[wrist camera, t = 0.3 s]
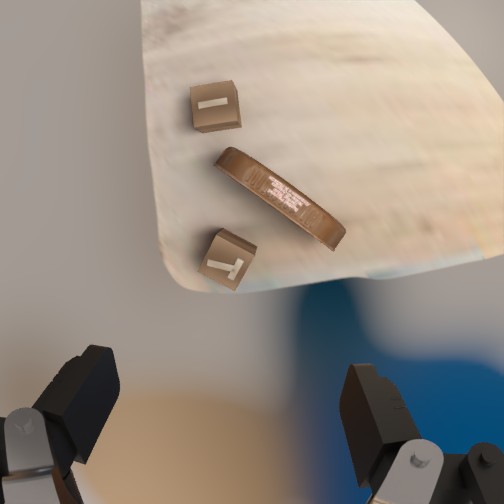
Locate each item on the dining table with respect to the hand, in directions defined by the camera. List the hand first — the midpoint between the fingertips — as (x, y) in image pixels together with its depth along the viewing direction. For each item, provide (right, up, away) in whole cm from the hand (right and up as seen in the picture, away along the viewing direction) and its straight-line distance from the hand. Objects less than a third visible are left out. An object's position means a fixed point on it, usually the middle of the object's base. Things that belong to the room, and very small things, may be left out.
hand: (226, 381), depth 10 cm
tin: (+4, +11, +27) cm, 29 cm away
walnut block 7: (-2, +4, +28) cm, 29 cm away
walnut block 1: (-3, +20, +25) cm, 32 cm away
